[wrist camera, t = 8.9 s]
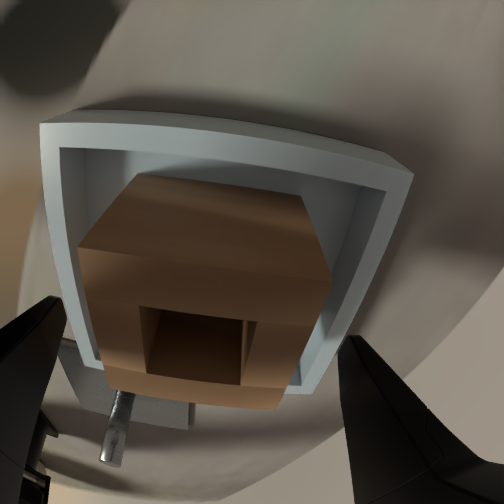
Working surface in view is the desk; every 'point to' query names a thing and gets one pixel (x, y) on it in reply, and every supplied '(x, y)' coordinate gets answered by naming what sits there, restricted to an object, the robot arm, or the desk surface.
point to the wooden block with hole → (203, 290)
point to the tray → (227, 172)
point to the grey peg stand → (117, 404)
